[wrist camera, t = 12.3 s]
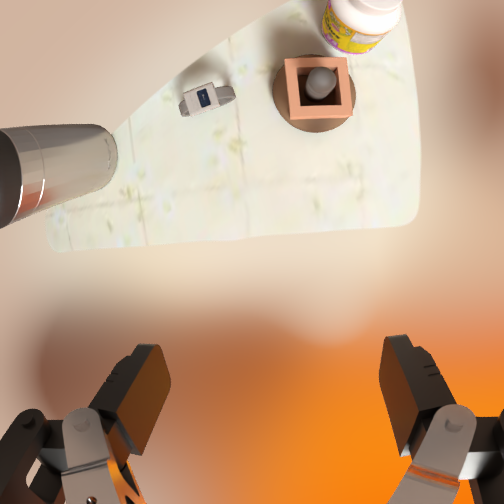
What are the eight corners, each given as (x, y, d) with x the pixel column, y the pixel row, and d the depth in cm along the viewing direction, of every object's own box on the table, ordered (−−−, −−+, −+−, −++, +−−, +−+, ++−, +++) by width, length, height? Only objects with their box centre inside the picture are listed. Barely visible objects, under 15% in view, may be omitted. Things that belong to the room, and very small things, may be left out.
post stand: (276, 134, 33) (273, 131, 24) (269, 59, 30) (263, 31, 21) (355, 132, 32) (381, 129, 23) (348, 58, 29) (369, 31, 20)
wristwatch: (191, 123, 34) (176, 122, 29) (184, 102, 33) (169, 98, 28) (241, 106, 33) (234, 100, 28) (234, 84, 32) (225, 76, 27)
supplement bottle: (317, 8, 27) (329, -46, 15) (371, 10, 26) (404, -38, 14) (324, 56, 30) (343, 16, 18) (379, 58, 29) (421, 24, 17)
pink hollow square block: (290, 119, 31) (290, 117, 27) (284, 67, 29) (284, 58, 25) (345, 118, 30) (352, 115, 27) (339, 66, 28) (346, 57, 25)
